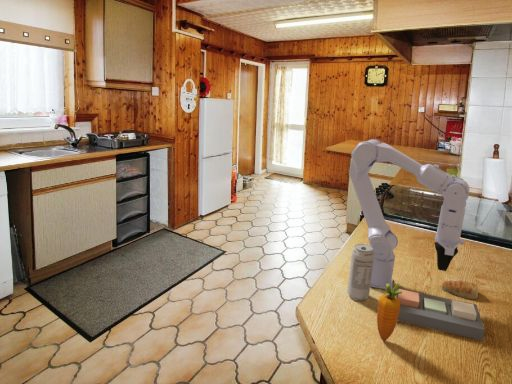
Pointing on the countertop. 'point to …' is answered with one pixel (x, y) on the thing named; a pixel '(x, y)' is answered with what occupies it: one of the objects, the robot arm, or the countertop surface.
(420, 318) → the panel
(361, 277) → the energy drink can
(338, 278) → the countertop surface
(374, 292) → the countertop surface
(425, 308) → the sage button
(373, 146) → the robot arm
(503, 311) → the countertop surface
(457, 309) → the cream button
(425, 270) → the countertop surface
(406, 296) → the terracotta button
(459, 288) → the pastry
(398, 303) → the carrot
